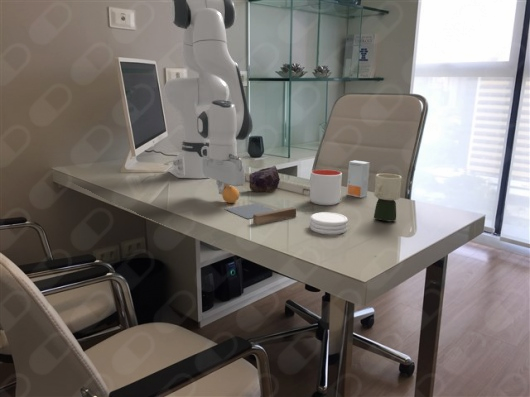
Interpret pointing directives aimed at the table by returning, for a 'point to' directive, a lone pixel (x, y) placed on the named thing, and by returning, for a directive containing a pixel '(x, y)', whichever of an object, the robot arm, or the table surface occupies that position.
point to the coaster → (328, 223)
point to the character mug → (387, 196)
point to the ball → (230, 194)
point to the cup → (325, 187)
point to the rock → (264, 180)
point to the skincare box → (358, 178)
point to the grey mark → (249, 210)
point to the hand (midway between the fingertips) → (223, 194)
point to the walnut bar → (274, 215)
